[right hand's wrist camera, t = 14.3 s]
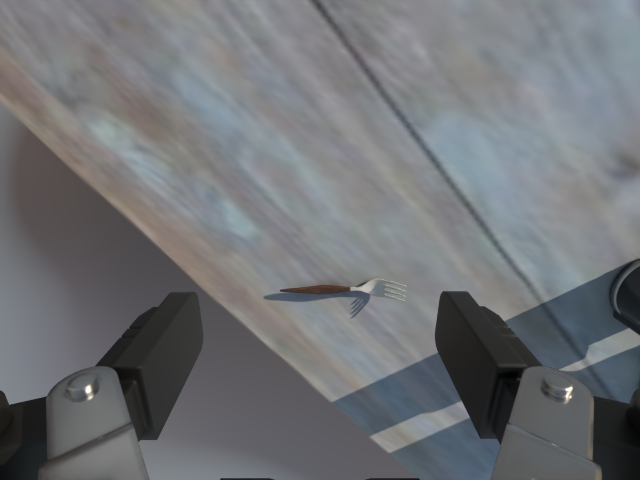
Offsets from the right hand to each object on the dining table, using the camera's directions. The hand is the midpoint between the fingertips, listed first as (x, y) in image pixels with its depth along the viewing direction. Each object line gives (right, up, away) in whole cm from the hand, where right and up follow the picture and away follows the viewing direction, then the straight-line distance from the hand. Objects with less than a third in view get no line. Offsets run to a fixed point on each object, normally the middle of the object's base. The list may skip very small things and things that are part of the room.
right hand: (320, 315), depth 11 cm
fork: (+3, -4, +34) cm, 34 cm away
